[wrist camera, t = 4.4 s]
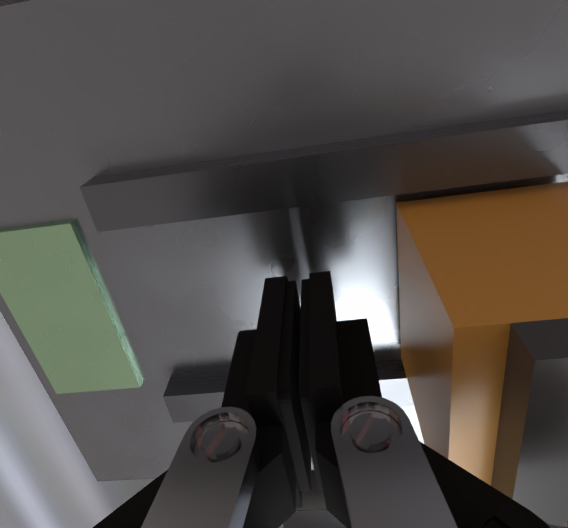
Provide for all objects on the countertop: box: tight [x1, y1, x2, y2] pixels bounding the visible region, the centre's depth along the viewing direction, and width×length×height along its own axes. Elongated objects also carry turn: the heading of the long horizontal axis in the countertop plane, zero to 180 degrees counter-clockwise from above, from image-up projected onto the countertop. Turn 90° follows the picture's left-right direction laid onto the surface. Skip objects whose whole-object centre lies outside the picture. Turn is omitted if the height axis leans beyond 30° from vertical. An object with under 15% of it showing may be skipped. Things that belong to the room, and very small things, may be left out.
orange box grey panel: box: [396, 182, 568, 527], centre depth 9 cm, size 4×5×6 cm
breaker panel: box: [0, 0, 568, 481], centre depth 13 cm, size 24×16×3 cm, turn 99°
